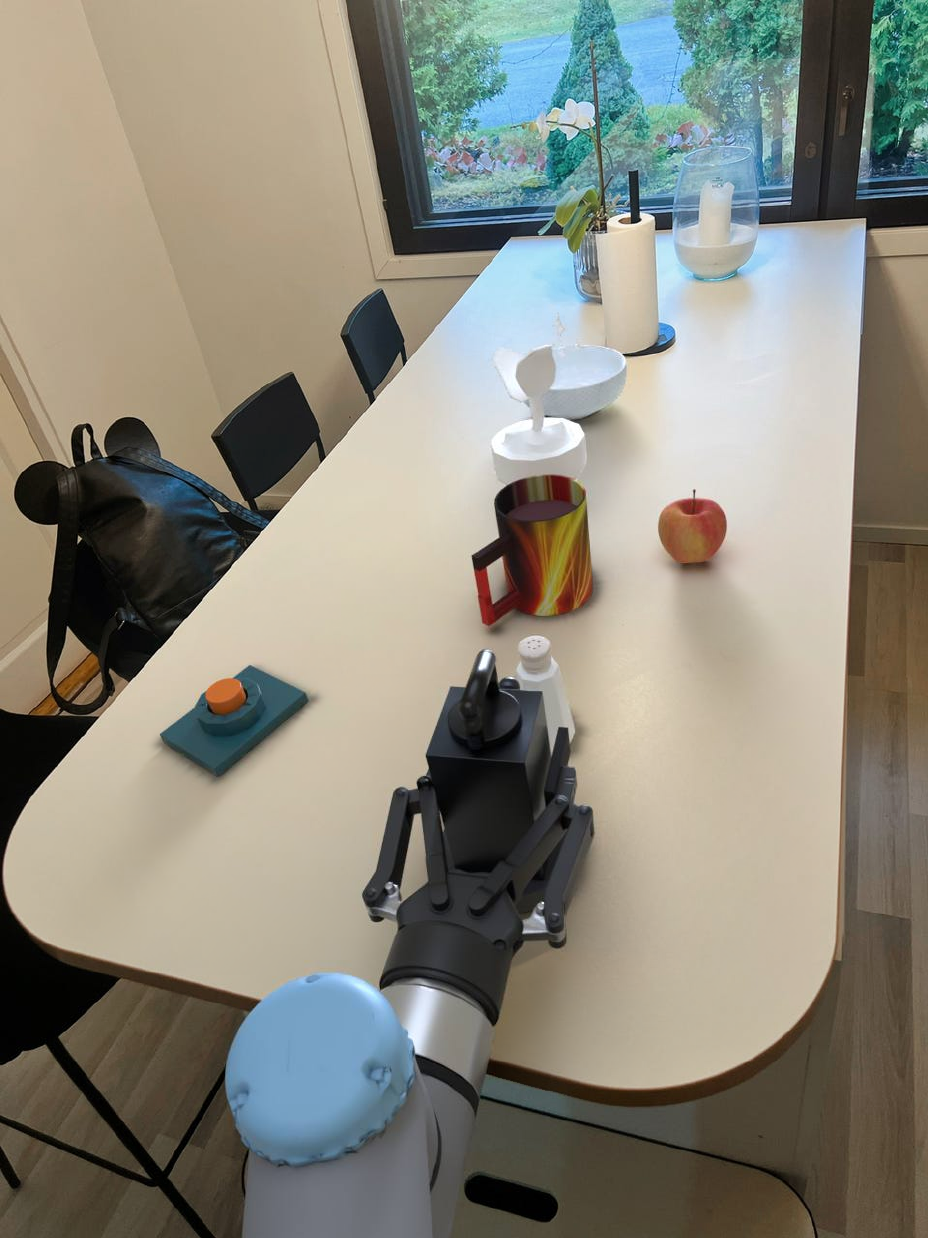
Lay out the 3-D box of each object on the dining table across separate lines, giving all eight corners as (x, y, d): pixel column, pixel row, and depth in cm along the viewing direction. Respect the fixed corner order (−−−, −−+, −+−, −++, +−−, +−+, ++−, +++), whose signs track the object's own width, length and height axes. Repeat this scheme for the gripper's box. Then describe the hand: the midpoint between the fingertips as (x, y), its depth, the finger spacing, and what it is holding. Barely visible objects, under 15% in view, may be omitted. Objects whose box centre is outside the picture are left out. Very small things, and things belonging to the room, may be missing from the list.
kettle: (543, 880, 66) (517, 715, 55) (455, 870, 68) (412, 708, 57) (565, 771, 74) (545, 608, 63) (485, 765, 76) (454, 606, 65)
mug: (482, 634, 94) (465, 541, 86) (522, 561, 103) (510, 472, 96) (569, 645, 90) (559, 548, 83) (602, 568, 100) (596, 476, 93)
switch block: (218, 777, 83) (207, 755, 81) (163, 742, 88) (152, 721, 86) (308, 700, 90) (301, 679, 88) (253, 672, 95) (244, 651, 93)
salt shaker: (516, 718, 83) (501, 628, 76) (573, 712, 82) (563, 621, 76) (518, 760, 79) (502, 668, 72) (578, 754, 78) (568, 661, 71)
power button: (226, 720, 85) (220, 707, 84) (203, 707, 87) (197, 695, 86) (253, 698, 87) (248, 685, 86) (231, 686, 89) (225, 673, 88)
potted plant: (607, 511, 110) (594, 312, 94) (523, 540, 107) (497, 342, 92) (561, 472, 119) (543, 286, 104) (483, 498, 117) (453, 312, 102)
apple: (656, 576, 97) (655, 515, 92) (661, 540, 103) (659, 480, 98) (725, 577, 95) (727, 514, 90) (726, 540, 101) (728, 479, 96)
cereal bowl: (638, 423, 127) (636, 377, 123) (525, 441, 128) (519, 396, 124) (617, 378, 141) (615, 335, 136) (515, 395, 142) (509, 353, 137)
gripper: (298, 1014, 57) (402, 757, 74) (609, 1072, 51) (645, 779, 69) (265, 950, 53) (384, 692, 70) (603, 1006, 47) (642, 710, 64)
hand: (513, 735), depth 69 cm, fingers open, 7 cm apart
